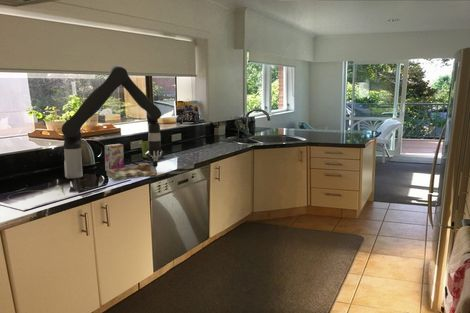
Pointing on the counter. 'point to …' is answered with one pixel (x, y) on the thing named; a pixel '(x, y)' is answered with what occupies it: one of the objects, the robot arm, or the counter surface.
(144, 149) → the plant pot
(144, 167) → the walnut block
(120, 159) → the candy bar box
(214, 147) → the counter surface
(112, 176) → the box
